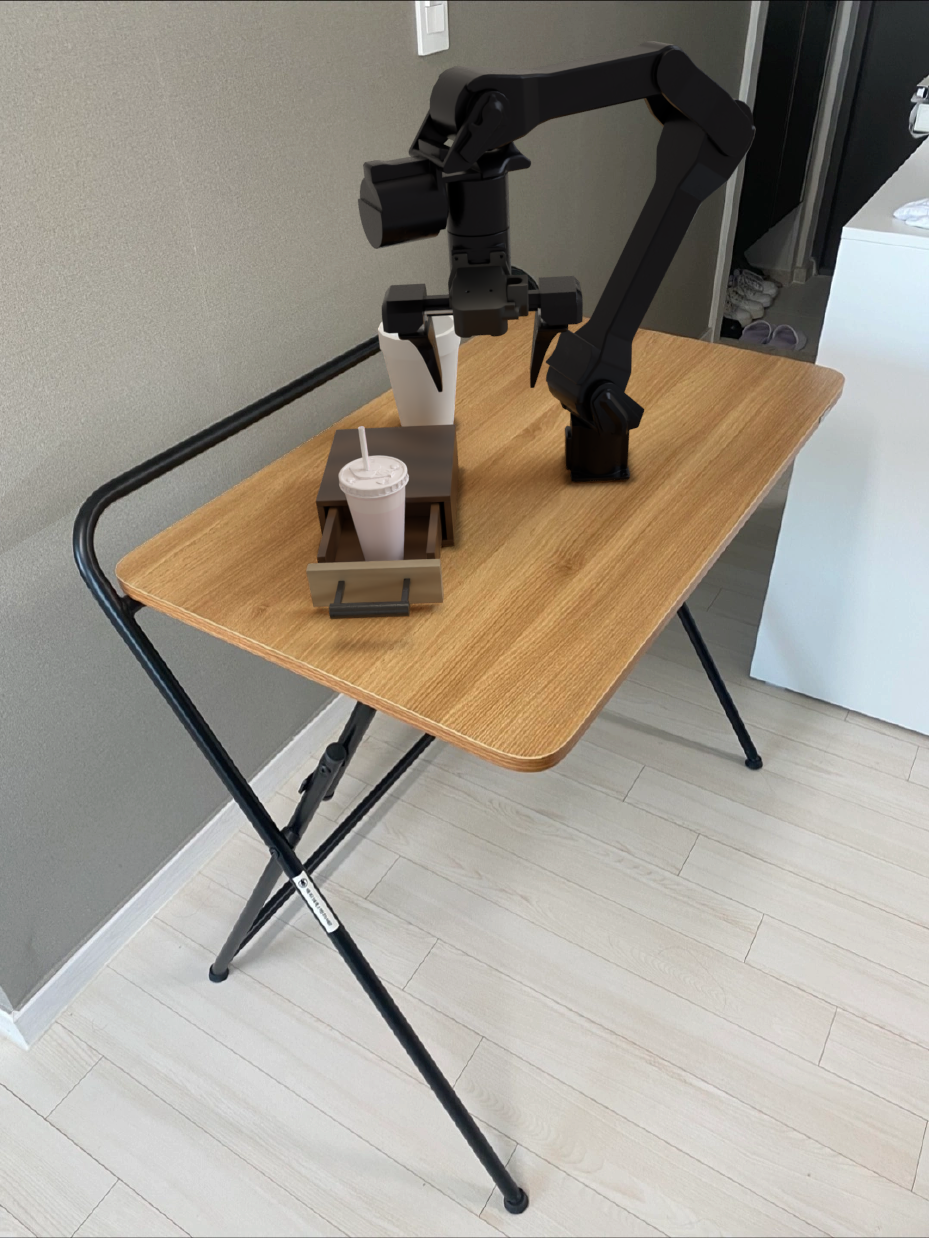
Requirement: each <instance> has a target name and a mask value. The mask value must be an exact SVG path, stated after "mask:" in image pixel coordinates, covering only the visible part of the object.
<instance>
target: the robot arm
mask: <svg viewBox="0 0 929 1238" xmlns="http://www.w3.org/2000/svg"><path fill="white" fill-rule="evenodd" d="M639 100H643V101H644V103H645V105H646V107H647V109H648V111H649V113H650V114H651V116H652V117H653V118H654V119H655V120H656V121H657V122H658V123H659V125H660V126H662V129H661V133H660V135H659V139H658V142H657V145H656V154H655V155H656V159H655V180H654V184H653V187H652V188H651V190H650V193H649V195H648V197H647V199H646V201H645V203H644V205H643V207H642V208H641V209H642V210H641V211H640V213H639V216H638V217H637V220H636V222H635V224H634V226H633V228H632V231H631V233H630V235H629V237H628V239H627V241H626V243H625V245H624V247H623V250H622V251H621V253H620V256H619V257H618V259H617V262H616V264H615V265H614V266H615V267H614V268H613V270H612V272H611V274H610V277H609V279H608V281H607V282H606V285H605V287H604V289H603V291H602V294H601V295H600V297H599V300H598V302H597V304H596V306H595V308H594V310H593V312H592V315H591V316H590V318H589V319H588V320H587V322H586V323H584V324H583V325H582V326H581V327H579V328H578V329H577V330H576V331H574V332H573V331H571V330H570V329H569V326H571V325H572V326H574V325H579V324H581V323H583V321H584V320H583V319H584V317H583V315H584V314H583V312H584V309H583V308H584V302H583V301H584V300H583V299H584V298H583V293H582V287H581V282H580V281H579V280H578V279H577V278H576V277H575V275H564V276H563V275H561V276H544V277H542V276H541V277H538V281H537V282H538V286H537V287H538V289H531V290H530V289H529V278H528V277H529V276H528V274H512V255H511V254H512V253H511V252H512V251H511V250H512V249H511V225H510V224H511V220H510V219H511V218H510V188H509V173H511V172H516V171H521V170H527V169H529V168H530V167H532V161H531V159H530V158H528V157H527V156H526V155H525V154H524V153H522V152H521V151H520V150H519V149H518V147H517V146H516V144H515V142H516V141H517V140H519V139H522V138H524V137H525V136H528V135H529V133H530V132H532V131H533V130H534V129H535V128H537V127H538V126H539V125H542V124H544V123H546V122H548V121H551V120H554V119H559V118H563V117H569V116H572V115H573V116H574V115H577V114H582V113H585V112H591V111H594V110H599V109H604V108H608V107H613V106H616V105H621V104H626V103H630V102H635V101H639ZM754 123H755V122H754V115H753V112H752V109H751V107H750V106H749V105H748V104H747V103H746V102H745V101H744V100H742V99H741V100H740V99H739V98H734V97H732V95H731V94H730V93H729V92H728V91H727V90H726V89H725V88H724V87H722V85H720V84H719V83H718V82H716V80H714V79H713V78H712V77H711V76H709V75H708V74H707V73H705V71H703V70H702V69H701V68H699V67H698V65H696V64H695V62H694V61H693V60H692V59H691V57H690V56H689V55H688V54H687V52H685V50H684V49H683V48H682V47H681V46H679V45H677V44H672V43H668V42H667V43H666V42H661V41H660V42H659V41H654V40H646V41H644V42H641V43H640V44H638V45H636V46H632V47H627V48H623V49H617V50H613V51H608V52H603V53H598V54H593V55H588V56H584V57H578V58H574V59H570V60H569V59H568V60H564V61H560V62H555V63H549V64H544V65H539V66H536V67H531V68H520V67H519V68H518V67H517V68H516V67H504V66H492V65H491V66H490V65H488V66H487V65H454V66H452V67H450V68H447V69H445V70H443V71H442V72H440V74H439V75H438V78H437V80H436V82H435V83H434V85H433V87H432V90H431V93H430V96H429V109H428V111H427V113H426V115H425V117H424V119H423V120H422V122H421V125H420V126H419V129H418V130H417V133H416V135H415V137H414V139H413V141H412V143H411V145H410V147H409V149H408V156H407V157H401V158H394V159H388V160H381V159H373V160H368V161H364V162H363V164H362V169H363V178H362V180H361V182H360V185H359V198H357V207H358V212H359V218H360V222H361V226H362V229H363V232H364V235H365V237H366V239H367V242H368V243H369V244H370V246H371V247H372V248H373V249H374V250H378V249H379V250H380V249H384V248H388V247H389V248H390V247H393V246H398V245H403V244H408V243H414V242H419V241H423V240H428V239H434V238H436V237H438V236H439V235H440V233H441V231H442V230H444V231H445V230H446V235H447V236H446V237H447V251H448V265H449V267H448V268H449V276H448V280H447V290H448V294H431V295H430V294H429V295H428V292H427V291H428V290H427V286H426V283H408V284H391V285H390V286H389V287H388V288H387V289H386V290H385V292H384V296H383V300H382V304H381V320H382V321H381V322H383V331H384V332H386V333H389V334H390V333H398V337H399V339H400V340H408V341H410V342H411V343H412V344H413V345H414V346H415V347H416V348H417V350H418V351H419V353H420V354H421V356H422V358H423V359H424V361H425V364H426V366H427V368H428V370H429V372H430V375H431V377H432V379H433V381H434V383H435V386H436V388H437V390H438V392H442V391H443V382H442V370H441V364H440V358H439V353H438V347H437V342H436V336H435V330H434V325H433V319H432V316H451V315H453V320H454V331H455V334H456V335H457V336H459V337H460V338H462V339H469V338H472V337H478V336H479V337H480V336H490V337H494V338H495V337H496V338H497V337H501V336H503V335H505V334H506V333H507V332H508V331H509V321H514V320H515V321H518V320H519V319H520V318H523V317H528V316H529V314H530V313H529V312H531V313H532V312H534V320H533V321H534V322H533V331H532V341H531V351H530V362H529V388H530V389H534V388H536V387H535V386H536V385H537V381H538V378H539V375H540V371H541V369H542V365H543V363H544V361H545V364H546V365H548V368H547V371H546V375H545V377H546V378H545V382H546V384H547V388H548V391H549V393H550V394H551V395H552V397H553V398H555V399H556V400H558V401H559V403H560V405H561V408H562V409H563V410H565V411H567V412H568V413H569V425H566V426H565V427H564V465H565V470H567V471H569V475H570V481H571V482H573V483H586V482H588V483H589V482H591V483H592V482H609V481H610V482H611V481H612V482H613V481H617V482H618V481H628V480H630V479H631V472H630V467H629V452H630V449H629V447H630V431H631V430H634V429H637V428H640V427H639V426H640V424H641V421H642V419H643V417H644V413H645V408H644V407H643V406H642V405H641V404H639V403H638V402H637V401H636V400H634V399H633V398H632V397H631V396H629V394H627V393H626V390H627V386H628V385H629V381H630V378H631V375H632V366H633V365H632V363H633V359H632V358H633V341H634V339H635V338H636V337H635V336H636V334H637V333H638V330H639V328H640V326H641V324H642V322H643V320H644V319H645V317H646V315H647V312H648V310H649V308H650V306H651V304H652V302H653V301H654V299H655V297H656V294H657V293H658V291H659V289H660V286H661V284H662V282H663V280H664V278H665V276H666V274H667V272H668V270H669V268H670V266H671V264H672V262H673V260H674V258H675V256H676V254H677V252H678V250H679V249H680V246H681V244H682V242H683V240H684V238H685V236H686V234H687V233H688V230H689V228H690V226H691V224H692V222H693V220H694V218H695V216H696V214H697V212H698V210H699V208H700V206H701V205H702V204H703V203H704V202H705V200H707V199H708V198H709V197H711V195H713V194H714V193H715V192H716V191H717V190H718V189H720V188H721V187H722V186H723V185H725V184H726V183H727V182H728V181H729V180H730V179H731V177H732V176H733V175H734V173H735V172H736V170H737V168H738V167H739V165H740V164H741V163H742V161H743V159H744V158H745V157H746V155H747V154H748V153H749V150H750V149H751V147H752V144H753V141H754V139H755V134H756V129H757V128H756V126H755V124H754ZM449 140H450V141H453V142H452V144H451V146H450V145H448V144H445V143H446V142H447V141H449ZM558 334H559V336H558V339H557V342H556V345H555V348H554V349H553V352H552V353H551V355H550V356H549V357H548V358H547V359H546V360H544V359H545V357H546V354H547V352H548V349H549V347H550V345H551V344H552V342H553V340H554V339H555V338H556V336H557V335H558Z"/></svg>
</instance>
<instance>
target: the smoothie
mask: <svg viewBox="0 0 929 1238" xmlns="http://www.w3.org/2000/svg"><path fill="white" fill-rule="evenodd" d="M365 428H366V427H365V426H363V425H360V426H358V427H357V429H358V430H359V437H360V444H361V451H362V458H359V459H356V460H354V461H352V462H350V463H348V464H346V465H345V466H344V467H343V468H342V469H341V470H340V472H339V486H340V488H341V490H342V491H343V492H344V493H345V495H346V498H347V502H348V505H349V508H350V512H351V515H352V518H353V521H354V525H355V528H356V531H357V535H358V538H359V541H360V545H361V548H362V551H363V555H364V558H365V561H392V560H403V558H404V518H405V486H406V484H407V482H408V481H409V475H408V473H407V467H406V465H405V464H404V463H403V462H402V461H401V460H399V459H397V458H394V457H389V456H368V450H367V443H366V435H365Z"/></svg>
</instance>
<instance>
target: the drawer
mask: <svg viewBox="0 0 929 1238" xmlns="http://www.w3.org/2000/svg"><path fill="white" fill-rule="evenodd" d="M442 529H443V508H442V502H424V503H405V518H404V558H403V560H392V561H365V558H364V555H363V551H362V548H361V545H360V541H359V538H358V535H357V531H356V528H355V525H354V521H353V518H352V515H351V512H350V508H349V505H348V506H330V508H329V512H328V516H327V519H326V523H325V527H324V531H323V535H322V534H321V539H320V542H319V547H318V551H317V554H316V560H317V561H316V563H315V562H312V563H307V566H306V570H305V572H306V577H307V582H308V588H309V592H310V598H311V603H312V607H313V608H328V616H329V619H330V620H349V619H350V620H351V619H379V618H381V619H383V618H409V617H411V605H420V604H421V605H422V604H424V605H425V604H444V600H445V592H444V591H445V590H444V581H443V571H442V560H441V555H442V554H441V551H442V546H441V541H442Z"/></svg>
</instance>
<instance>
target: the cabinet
mask: <svg viewBox="0 0 929 1238" xmlns="http://www.w3.org/2000/svg"><path fill="white" fill-rule="evenodd" d="M456 425H457V424H456V423H455V424H454V423H453V424H450V425H427V426H405V427H402V426H388V427H387V426H385V427H364V428H365V435H366V443H367V450H368V456H389V457H394V458H397V459H399V460H401V461H402V462H403V463H404V464H405V465H406V467H407V473H408V475H409V481H408V482H407V484H406V486H405V503H424V502H442V508H443V529H442V541H441V547H445V546H446V547H447V546H448V547H450V546H455V541H456V526H457V511H458V510H457V509H458V494H459V492H458V491H459V477H460V476H459V475H460V467H459V451H458V440H457V439H458V438H457V426H456ZM359 458H362V451H361V444H360V437H359V430H358V428H342V429H341V428H340V429H339V428H338V429H335V432H334V435H333V439H332V443H331V446H330V449H329V453H328V456H327V460H326V464H325V466H324V470H323V474H322V477H321V481H320V484H319V488H318V492H317V494H316V499H315V506H316V511H317V517H318V522H319V528H320V533H321V536H322V535H323V531H324V527H325V523H326V519H327V516H328V512H329V508H330V506H348V502H347V498H346V495H345V493H344V492H343V491H342V490H341V488H340V486H339V472H340V470H341V469H342V468H343V467H344V466H345V465H346V464H348V463H350V462H352V461H354V460H356V459H359Z"/></svg>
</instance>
